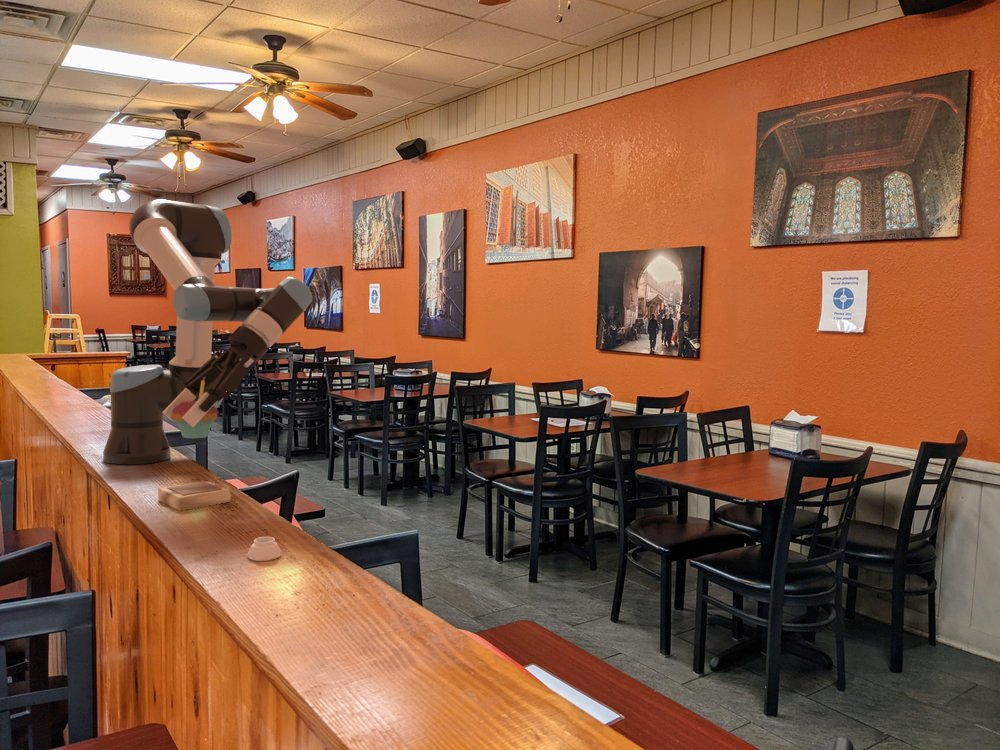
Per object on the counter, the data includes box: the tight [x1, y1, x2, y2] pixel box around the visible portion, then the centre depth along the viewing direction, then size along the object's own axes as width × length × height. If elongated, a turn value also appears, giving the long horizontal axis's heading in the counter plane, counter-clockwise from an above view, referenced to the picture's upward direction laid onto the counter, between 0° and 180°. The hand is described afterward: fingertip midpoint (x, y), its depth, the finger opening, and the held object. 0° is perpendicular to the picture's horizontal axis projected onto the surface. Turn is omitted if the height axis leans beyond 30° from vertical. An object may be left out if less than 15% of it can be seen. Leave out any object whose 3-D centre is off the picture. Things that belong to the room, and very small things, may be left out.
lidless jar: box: [246, 536, 282, 562], centre depth 113 cm, size 5×3×5 cm
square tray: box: [157, 480, 231, 512], centre depth 144 cm, size 10×10×3 cm
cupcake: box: [171, 377, 219, 439], centre depth 143 cm, size 9×8×12 cm
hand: (177, 419), depth 141 cm, fingers closed on cupcake, 8 cm apart
